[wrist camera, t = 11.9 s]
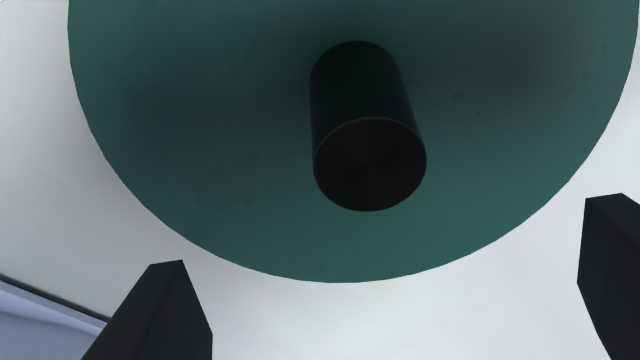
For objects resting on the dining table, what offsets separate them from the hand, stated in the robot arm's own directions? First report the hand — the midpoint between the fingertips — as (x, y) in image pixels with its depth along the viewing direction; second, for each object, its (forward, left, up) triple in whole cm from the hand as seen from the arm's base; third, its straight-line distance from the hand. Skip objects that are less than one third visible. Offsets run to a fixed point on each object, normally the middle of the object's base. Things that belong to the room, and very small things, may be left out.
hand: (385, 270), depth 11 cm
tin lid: (0, 0, -7) cm, 7 cm away
